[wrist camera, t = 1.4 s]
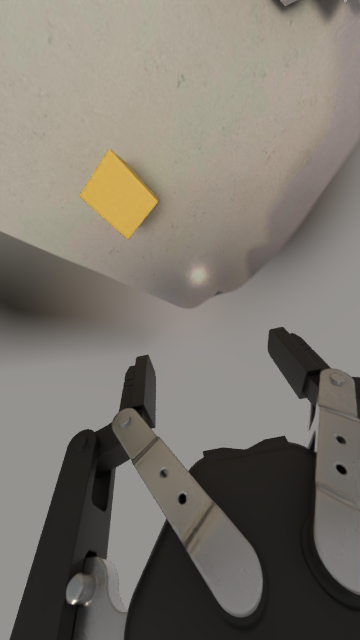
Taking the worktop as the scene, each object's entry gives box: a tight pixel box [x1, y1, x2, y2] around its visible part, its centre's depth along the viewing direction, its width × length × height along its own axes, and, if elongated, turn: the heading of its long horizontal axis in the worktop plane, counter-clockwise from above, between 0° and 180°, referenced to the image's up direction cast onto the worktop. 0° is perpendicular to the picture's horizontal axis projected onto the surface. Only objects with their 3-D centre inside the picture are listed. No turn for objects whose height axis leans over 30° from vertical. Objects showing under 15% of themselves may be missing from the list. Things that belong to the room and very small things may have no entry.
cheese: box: [79, 149, 158, 240], centre depth 21 cm, size 5×4×9 cm
